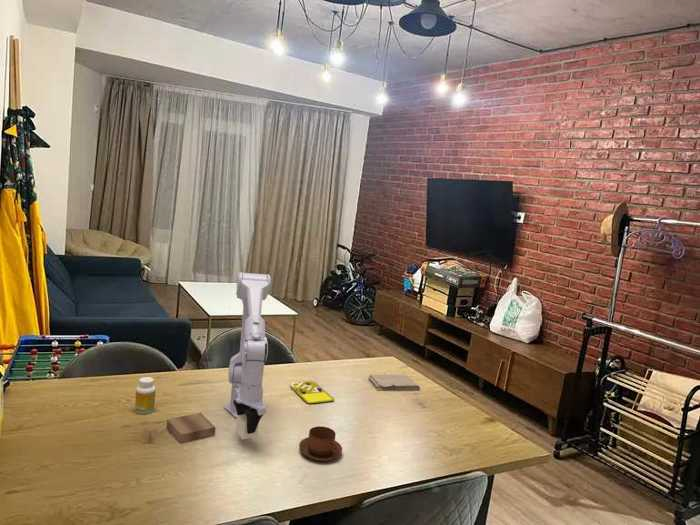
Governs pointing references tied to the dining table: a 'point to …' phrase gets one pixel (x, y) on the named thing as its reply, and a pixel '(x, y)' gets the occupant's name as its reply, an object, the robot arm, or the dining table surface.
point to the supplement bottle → (145, 396)
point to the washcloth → (393, 383)
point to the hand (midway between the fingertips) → (246, 428)
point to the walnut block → (190, 427)
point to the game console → (311, 392)
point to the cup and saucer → (320, 444)
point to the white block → (244, 427)
